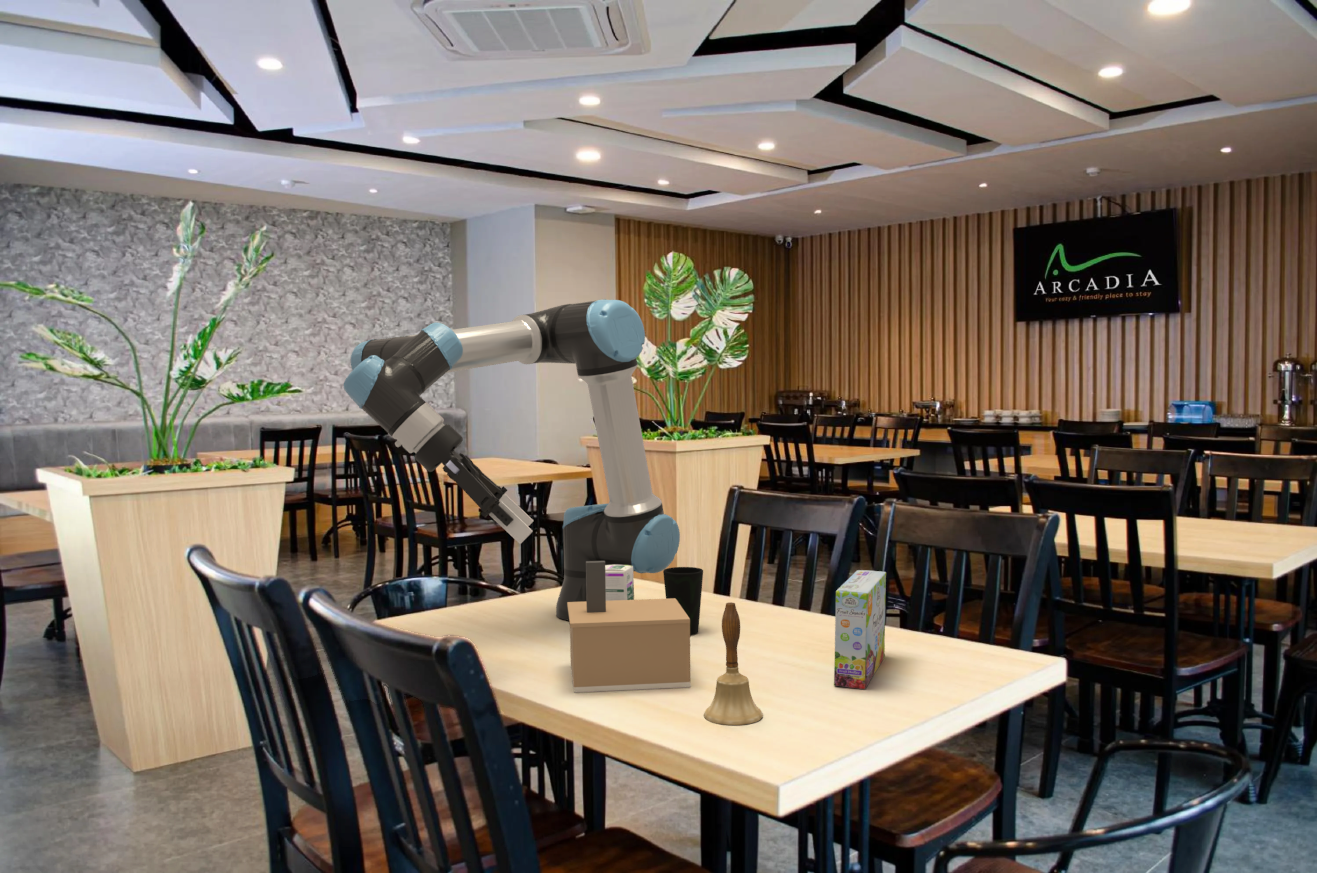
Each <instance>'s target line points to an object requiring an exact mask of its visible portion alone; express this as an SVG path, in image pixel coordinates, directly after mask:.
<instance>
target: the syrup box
mask: <svg viewBox="0 0 1317 873" xmlns="http://www.w3.org/2000/svg"><path fill="white" fill-rule="evenodd" d="M634 583H635V580H634V571H633V566H631V565H620V564H617V565H605V585H606V601H614V600H635V586H634V585H635V584H634Z"/></svg>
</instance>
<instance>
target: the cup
mask: <svg viewBox="0 0 1317 873" xmlns="http://www.w3.org/2000/svg"><path fill="white" fill-rule="evenodd" d="M703 578H704V569H702V568H699V567H695V566H694V567H691V566H677V567H675V566H674V567H669V568H668V567H667V568H666V569H664V570H663V581H664V593H665V599H670V598H676V600H677V601H678V603H679V604H680V605H681V607H682V608H683V610H684V611H685V613H686V614H687V615H688V617H689V618H690V636H695V635H697V634H699V631H700V630H699V629H700V628H699V627H700V615H701V605H702V604H701V603H702V592H703V591H702V590H703V580H704V579H703Z"/></svg>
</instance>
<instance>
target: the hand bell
mask: <svg viewBox="0 0 1317 873" xmlns="http://www.w3.org/2000/svg"><path fill="white" fill-rule="evenodd" d="M721 632H722V638H723V640H724V644H725V651H726V652H725V653H726V654H725V666H726V668H725V669H726V670H725V673H723V674H721V675H719V676H718V677H717V679H716V686H715V693H714V696H713V700H712V702H711V703H710V705H708V707H707V708H706V709H705V711H704V712H703V717H704V719H705V720H706V721H708V722H710V723H713V724H716V725H717V724H718V725H722V726H742V725H744V726H745V725H750V724H754V723H757V722H759V721H761V720H762V719H763V716H764V713H763V711H762V710H761V708H759V707H758V706H757V704H756V703H755V701H754V699H753V697H752V694H751V688H750V681H749V678H748V677H747V676H746V675H745V674H741V672H740V671H739V663H738V659H739V658H738V643H739V640H740V636H741V620H740V616H739V613H738V610H737V605H736V603H735V602H726V603H725V607H724V611H723V614H722V618H721Z"/></svg>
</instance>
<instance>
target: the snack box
mask: <svg viewBox="0 0 1317 873" xmlns="http://www.w3.org/2000/svg"><path fill="white" fill-rule="evenodd" d="M886 578H887V572H886V571H881V570H879V571H877V570H863V569H861V570H860V569H858V570H857V569H856V571H855V572H854V573H852V575H851V576H850V577H848V579H847V580H846V581H844V582H843V583H842V584H841V585H840V587H838V588H837V590H836V591H835V615H834V616H835V617H834V618H835V621H834V622H835V624H834V626H835V627H834V665H833V666H834V667H833V669H834V670H833V671H834V672H833V674H834V675H833V686H834V687H836V686H837V687H841V688H849V689H859V690H866V689H867V687H868V685H869V684H870V682H871V680H872V679H873V678H874V675H875V673H876V672H877V670H878V668H879V667H880V665H881V664H882V662H883V661H884V659H885V657H886V654H885V652H886V651H885V649H886V648H885V647H886V645H885V644H886V640H885V639H886V633H885V631H886V591H887V590H886V588H887V587H886V585H887V584H886V582H887V579H886Z"/></svg>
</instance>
